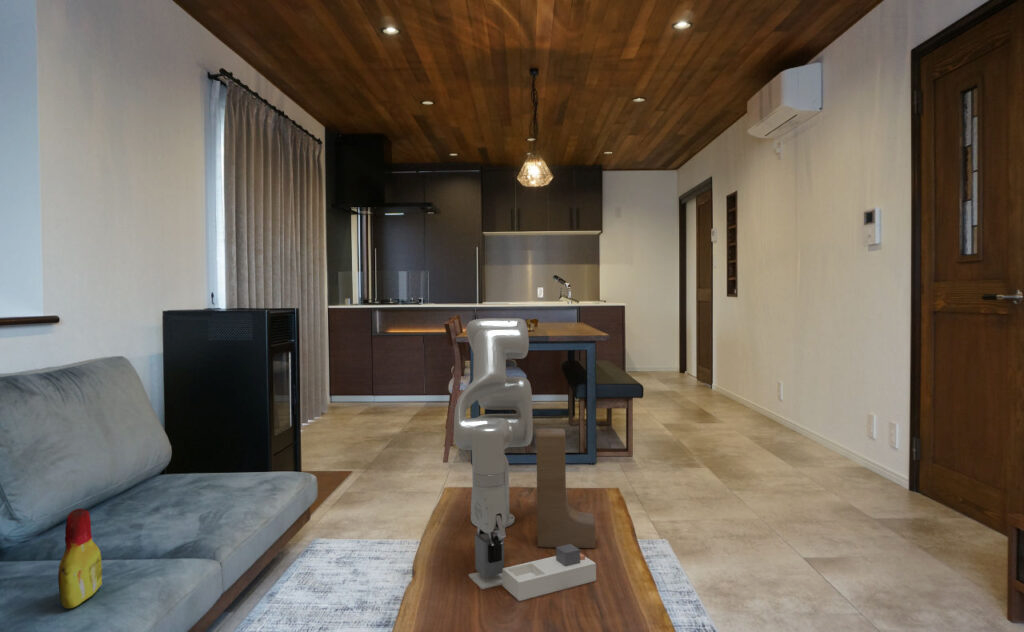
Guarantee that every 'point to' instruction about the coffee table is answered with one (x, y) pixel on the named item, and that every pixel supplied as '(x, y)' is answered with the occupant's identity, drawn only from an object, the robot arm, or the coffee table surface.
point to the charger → (486, 556)
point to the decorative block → (558, 497)
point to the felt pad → (486, 580)
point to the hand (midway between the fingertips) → (489, 556)
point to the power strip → (549, 574)
